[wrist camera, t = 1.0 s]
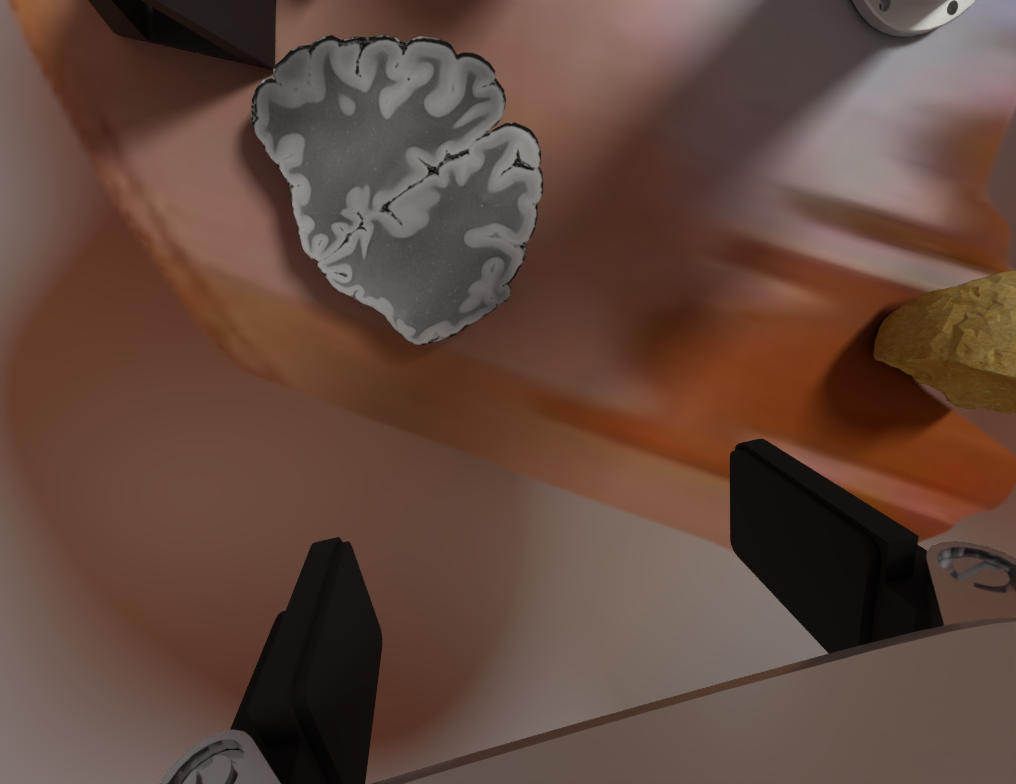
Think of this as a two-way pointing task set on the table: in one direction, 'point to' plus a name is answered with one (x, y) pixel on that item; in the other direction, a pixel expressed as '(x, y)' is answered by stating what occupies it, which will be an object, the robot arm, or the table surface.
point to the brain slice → (403, 176)
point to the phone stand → (199, 26)
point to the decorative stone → (958, 342)
